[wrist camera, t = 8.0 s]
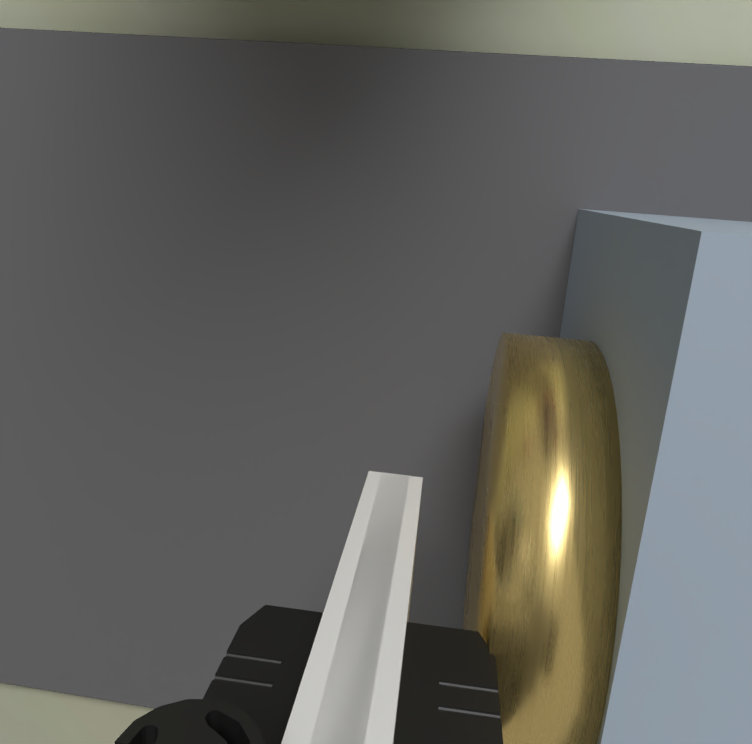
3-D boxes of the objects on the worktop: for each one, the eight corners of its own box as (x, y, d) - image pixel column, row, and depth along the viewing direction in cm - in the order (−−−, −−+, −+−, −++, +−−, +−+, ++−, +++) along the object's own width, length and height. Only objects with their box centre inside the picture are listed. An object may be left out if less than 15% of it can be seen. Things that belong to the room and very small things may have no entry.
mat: (-60, 664, 21) (-67, 671, 21) (-137, 23, 16) (-149, 20, 16) (918, 827, 18) (925, 837, 17) (1189, 91, 13) (1204, 89, 13)
